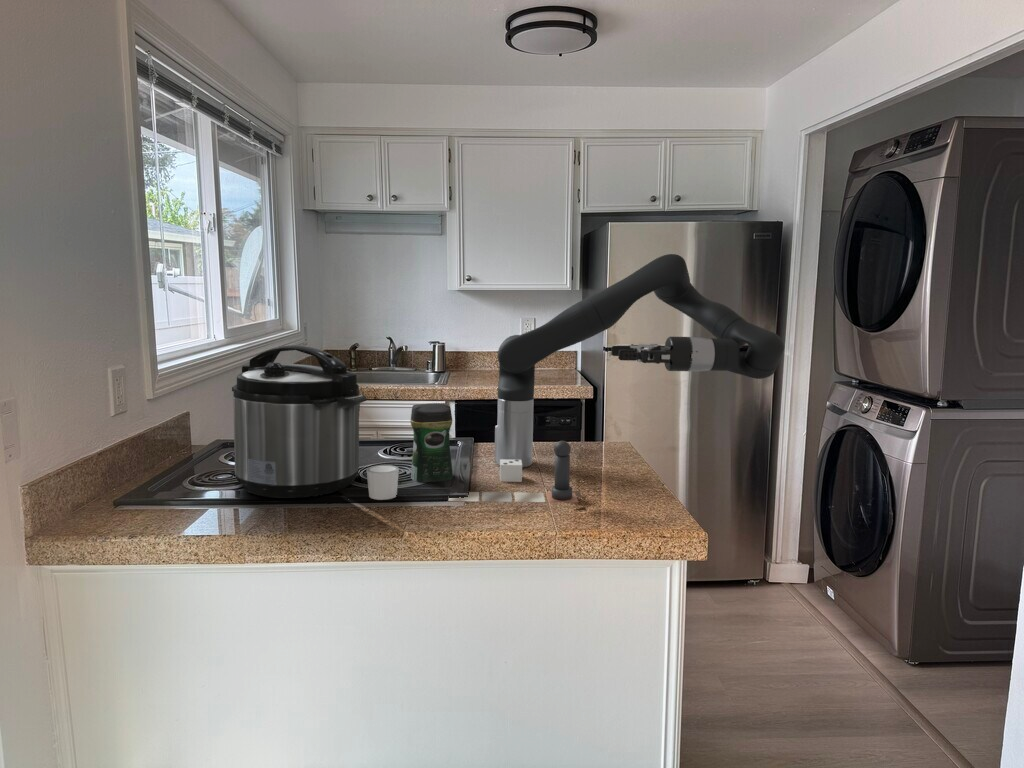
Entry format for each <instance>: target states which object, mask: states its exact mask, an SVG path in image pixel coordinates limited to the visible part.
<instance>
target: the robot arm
mask: <svg viewBox="0 0 1024 768" xmlns="http://www.w3.org/2000/svg"><path fill="white" fill-rule="evenodd" d="M652 292H653V293H654V295H655V296H656V298H658V300H660V301H662V302H663V303H665V304H666V305H668V306H670V307H673V308H674V309H676V310H678V311H680V312H681V313H682V314H684V315H685V316H687V317H688V318H691V319H692V320H693V321H695V322H697V324H699V325H701V327H703V328H704V329H706V330H707V331H708V332H709V333H710V334H711V335H712V336H714V337H715V338H713V337H711V338H709V337H707V338H706V337H701V336H668V337H667V338H666V340H665V342H664V343H665V344H664V346H663V347H662V345H661V344H658V343H649V344H647V343H646V344H645V343H639V344H633V343H631V344H628V345H612V346H611V352H610V353H611V356H612V357H617V359H618V360H619V361H628V362H629V361H631V362H632V361H633V362H634V361H636V362H638V363H643V364H656V365H657V364H664V367H665V369H666V370H667V371H668V372H706V371H707V372H709V371H712V372H714V371H715V372H717V371H718V372H719V371H721V372H725V371H726V372H730V373H733V374H737V375H740V376H745V377H747V378H748V377H749V378H752V379H757V380H760V379H761V380H762V379H767V378H769V377H771V376H773V375H774V374H775V372H776V370H777V367H778V365H779V363H780V360H781V357H782V356H783V354H784V350H785V344H784V342H783V339H782V338H781V337H780V336H779V335H778V334H777V333H775V332H773V331H772V330H768V329H765V328H763V327H761V326H758V325H756V324H753V323H751V322H748V321H747V320H746V319H744V317H742V316H741V315H740V314H738V313H737V312H735V311H734V310H733V309H732V308H730V307H728V306H726V305H725V304H722V303H719V302H717V301H713V300H710V299H708V298H706V297H705V296H703V295H702V294H701V293H700V292H699V291H698V290H697V289H696V288H695V287H694V285H693V284H692V283H691V278H690V274H689V270H688V267H687V263H686V261H685V259H684V257H683V256H681V255H679V254H676V253H670V254H669V253H668V254H664V255H660V256H659V257H656V258H655V259H653V260H652V261H650V262H647V264H645V265H643V266H642V267H640V268H639V269H637V270H635V271H634V272H632V273H631V274H629V275H628V276H626V277H625V278H623V279H621V280H619V281H617V282H615V283H614V284H612V285H609V286H608V287H606V288H604V289H602V290H601V291H599V292H596V293H594V294H592V295H590V296H588V297H586V298H584V299H582V300H580V301H577V302H576V303H575V304H572V305H571V306H569V307H568V308H566V309H564V310H563V311H561V312H560V313H558V314H557V315H555V316H554V317H553V318H552V319H549V321H547V322H546V323H544V324H543V325H541V326H539V327H536V328H535V329H532V330H530V331H527V332H524V333H522V334H513V335H510V336H508V337H506V338H505V339H504V340H503V341H502V343H500V346H499V347H498V350H497V360H498V367H499V368H498V372H499V373H498V385H497V420H496V421H497V422H496V423H497V425H495V426H494V462H495V463H496V464H497V465H498V466H500V459H511V460H521V461H522V468H527V467H530V466H531V465H532V464H533V441H534V440H533V439H534V435H533V434H534V400H535V399H534V397H535V377H536V376H535V374H536V373H535V372H536V364H538V363H539V362H540V361H541V362H542V360H544V359H546V358H548V357H549V356H550V355H552V354H555V353H556V352H558V351H560V350H563V349H566V348H569V347H571V346H574V345H576V344H578V343H581V342H583V341H586V340H588V339H589V338H593V337H595V336H597V335H599V334H600V333H602V332H604V331H606V330H608V329H610V328H612V327H613V326H614V325H615V324H617V323H618V322H619V320H620V319H621V318H622V317H623V316H624V315H625V314H626V312H627V311H628V310H629V309H630V308H631V307H632V306H633V305H634V304H636V302H637V301H638V300H640V299H641V298H643V297H645V296H647V295H649V294H650V293H652ZM746 344H747V345H748V347H747V350H746V353H744V354H743V353H740V352H741V351H740V349H741V348H742V347H744V346H745V345H746Z"/></svg>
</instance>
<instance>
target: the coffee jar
mask: <svg viewBox="0 0 1024 768" xmlns="http://www.w3.org/2000/svg"><path fill="white" fill-rule="evenodd" d="M410 412H411V413H410V419H409V421H410V426H411V428H412V430H413V446H412V447H413V448H412V449H413V450H412V458H411V470H410V471H411V472H410V477H411V480H412V481H414V482H417V483H431V482H432V483H433V482H434V483H436V482H446V481H450V480H452V479H453V476H454V474H453V473H454V472H453V465H452V456H451V455H452V453H451V447H450V444H451V443H450V431H451V427H452V425H453V415H452V408H451V406H450V405H449V404H447V403H446V402H445V403H444V402H441V403H440V402H431V403H420V404H413V405H412V407H411V411H410Z"/></svg>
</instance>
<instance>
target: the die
mask: <svg viewBox="0 0 1024 768" xmlns="http://www.w3.org/2000/svg"><path fill="white" fill-rule="evenodd" d="M499 481H500V483H501V482H505V483H506V482H507V483H509V482H510V483H511V482H513V483H515V482H516V483H517V482H518V483H520V482H521V483H522V481H523V467H522V461H521V460H511V459H500V465H499Z"/></svg>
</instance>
